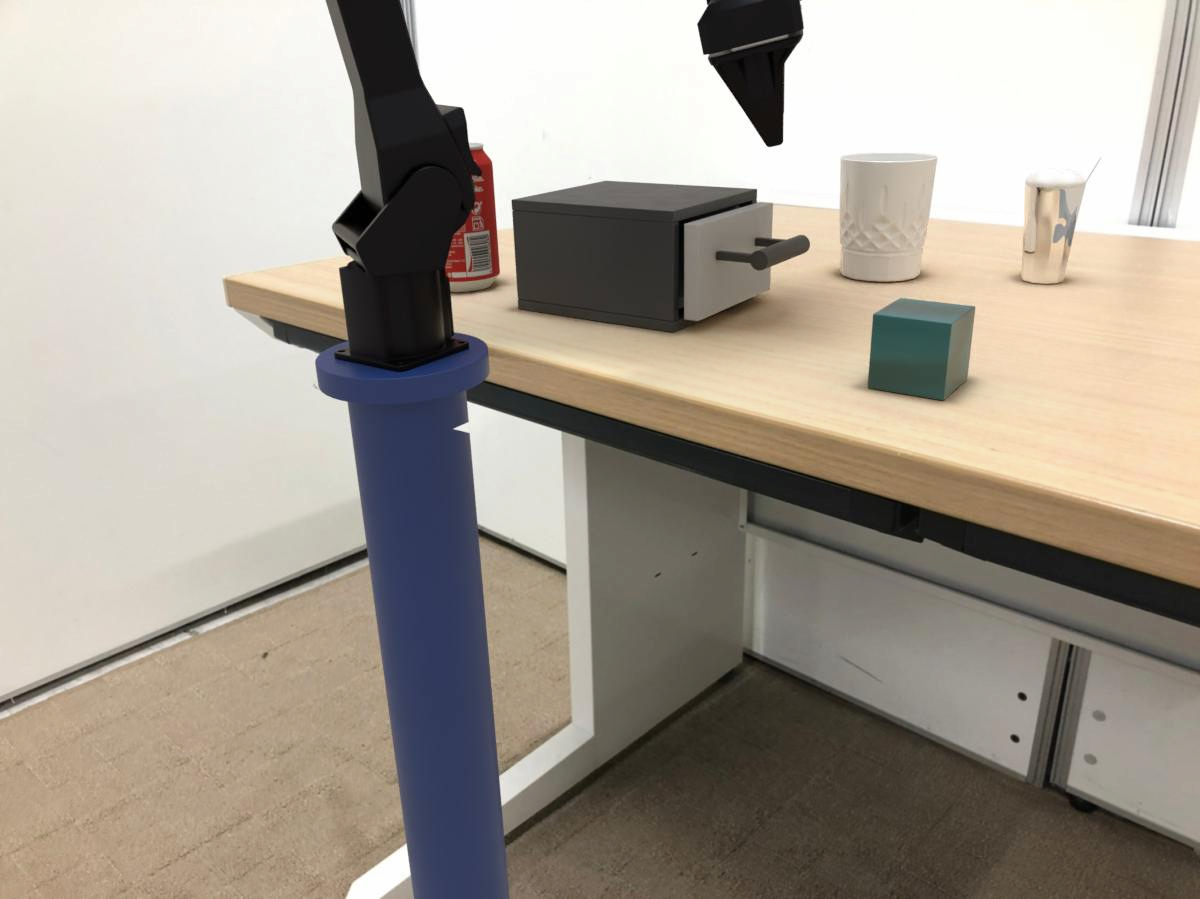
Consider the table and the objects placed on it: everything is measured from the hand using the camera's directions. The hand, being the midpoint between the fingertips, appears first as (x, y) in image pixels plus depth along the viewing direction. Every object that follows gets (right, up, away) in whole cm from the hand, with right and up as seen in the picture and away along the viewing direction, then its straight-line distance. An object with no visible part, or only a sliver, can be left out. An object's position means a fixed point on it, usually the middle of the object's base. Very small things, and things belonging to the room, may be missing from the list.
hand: (776, 130), depth 71 cm
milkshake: (+25, -9, +12) cm, 29 cm away
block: (+6, -19, -12) cm, 23 cm away
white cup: (+12, -8, +16) cm, 21 cm away
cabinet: (-10, -11, +9) cm, 17 cm away
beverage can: (-25, -9, +17) cm, 31 cm away
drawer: (-6, -11, +6) cm, 14 cm away
